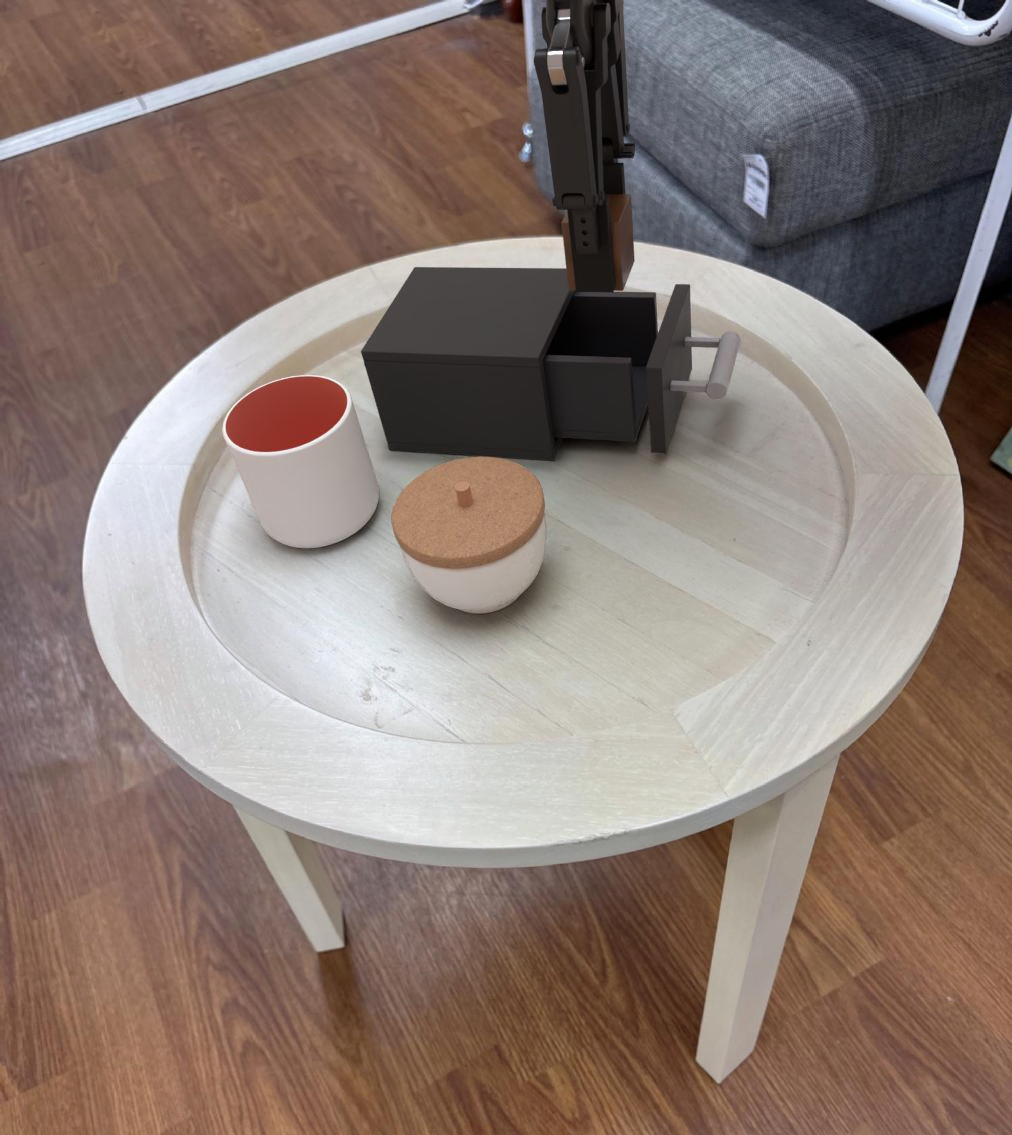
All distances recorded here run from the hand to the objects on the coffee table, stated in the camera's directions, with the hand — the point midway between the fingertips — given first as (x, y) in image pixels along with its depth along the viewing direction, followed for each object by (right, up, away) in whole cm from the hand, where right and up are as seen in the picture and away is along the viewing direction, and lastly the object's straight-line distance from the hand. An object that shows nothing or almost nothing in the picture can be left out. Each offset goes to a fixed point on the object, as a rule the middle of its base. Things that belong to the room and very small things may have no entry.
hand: (603, 270), depth 76 cm
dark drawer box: (-8, -6, +17) cm, 20 cm away
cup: (-22, -16, +11) cm, 29 cm away
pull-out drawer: (+3, -7, +13) cm, 15 cm away
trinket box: (-8, -22, +3) cm, 24 cm away
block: (0, 0, 0) cm, 0 cm away
